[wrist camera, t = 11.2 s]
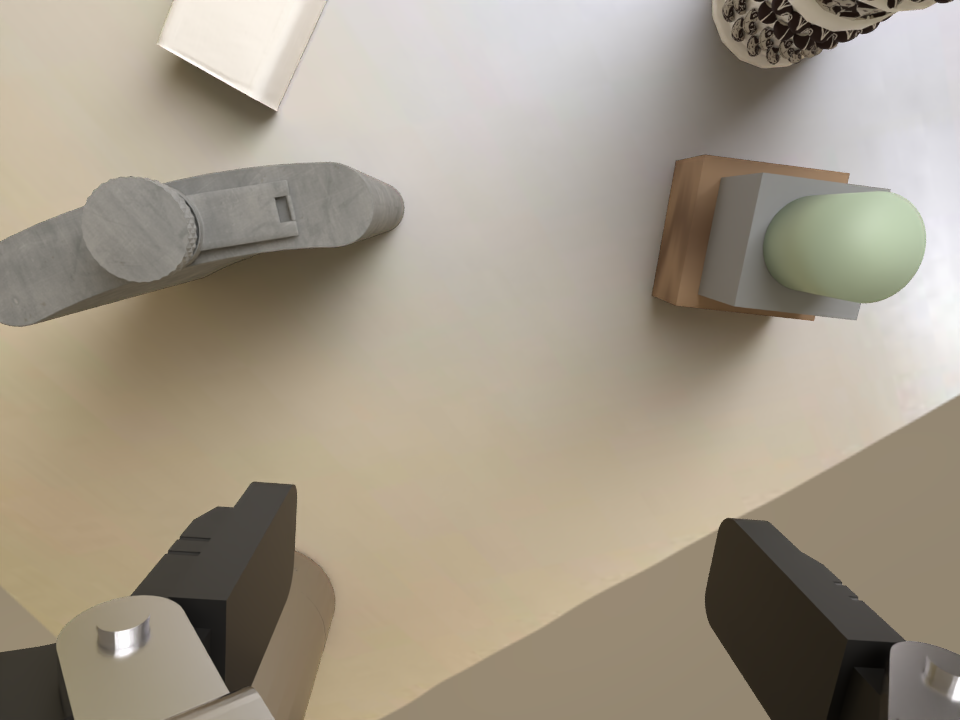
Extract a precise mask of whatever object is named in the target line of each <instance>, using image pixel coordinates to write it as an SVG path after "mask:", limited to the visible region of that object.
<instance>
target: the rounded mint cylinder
mask: <svg viewBox="0 0 960 720" xmlns="http://www.w3.org/2000/svg"><path fill="white" fill-rule="evenodd" d="M925 247H926V232H925V226H924V223H923V220H922V218H921V216H920V214H919V212H918V211H917V209H916V208H915V207H914V205H913V204H912V203H911V202H909V201H908V200H907V199H905V198H904V197H902V196H900V195H898V194H895V193H891V192H886V191H873V192H858V193H842V194H827V195H812V196H805V197H801V198H798V199H796V200H794V201H792V202H790V203H788V204H787V205H785V206H784V207H783V208H782V209H781V210H780V211H779V212H778V213H777V214H776V215H775V216H774V218H773V219H772V221H771V222H770V224H769V226H768V228H767V231H766V234H765V237H764V243H763V255H764V260H765V264H766V266H767V269H768V271H769V272H770V274H771V275H772V277H773V278H774V279H775V280H776V281H777V282H778V283H780V284H781V285H783V286H785V287H787V288H789V289H792V290H797V291H802V292H807V293H811V294H816V295H821V296H826V297H831V298H836V299H841V300H846V301H851V302H856V303H873V302H878V301H881V300H884V299H886V298H888V297H890V296H892V295H894V294H896V293H897V292H899V291H900V290H901V289H902V288H903V287H905V286H906V285H907V284H908V283H909V281H910V280H911V279H912V278H913V276H914V275H915V273H916V272H917V270H918V268H919V266H920V264H921V262H922V259H923V256H924V252H925Z"/></svg>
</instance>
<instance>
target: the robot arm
mask: <svg viewBox="0 0 960 720" xmlns="http://www.w3.org/2000/svg"><path fill="white" fill-rule="evenodd" d="M296 509H297V490H296V486H295V485H291V484H277V483H264V482H252V483H251V484H250V486H249V487H248V488H247V490H246V491H245V492H244V494H243V495H242V497H241V498H240V499H239V501H238V502H237V503H236V505H235V506H234V507H233V508H232V507H216V508H214V509H212V510H211V511H209V512H207V513H205V514H203V515H202V516H200V517H198V518H196V519H194V520H193V521H192V523H191V524H190V525H189V526H188V527H187V529H186V530H185V531H184V532H183V533H182V535H181V536H180V539H179V540H177V541H176V542H175V543H174V544H173V545H172V547H171V548H170V549H169V550H168V554H165V555H164V556H163V557H162V559H161V560H160V561H159V562H158V563H157V565H156V566H155V567H154V568H153V569H152V571H151V572H150V573H149V574H148V575H147V577H146V578H145V579H144V580H143V581H142V583H141V584H140V585H139V586H138V587H137V589H136V590H135V591H134V592H133V593H132V595H131V596H129V597H122V598H118V599H114V600H110V601H107V602H104V603H101V604H99V605H96V606H94V607H91V608H90V609H88V610H86V611H84V612H82V613H81V614H79V615H78V616H76V617H74V618H73V619H72V620H71V621H70V622H69V623H67V624H66V626H65V627H64V628H63V629H62V630H61V632H60V634H59V636H58V638H57V642H56V643H54V644H50V645H45V646H40V647H34V648H27V649H20V650H14V651H7V652H0V720H304V717H305V713H306V710H307V706H308V703H309V699H310V696H311V692H312V689H313V685H314V681H315V678H316V674H317V671H318V667H319V664H320V660H321V657H322V653H323V650H324V647H325V643H326V640H327V636H328V632H329V629H330V625H331V621H332V618H333V614H334V610H335V596H334V591H333V587H332V585H331V583H330V580H329V578H328V577H327V575H326V574H325V572H324V571H323V570H322V568H321V567H319V566H318V565H317V564H316V563H315V562H314V561H313V560H311V559H310V558H308V557H306V556H305V555H303V554H301V553H299V552H296V551H295V532H296ZM705 608H706V614H707V618H708V621H709V624H710V626H711V628H712V629H713V631H714V632H715V634H716V635H717V637H718V638H719V640H720V642H721V643H722V645H723V646H724V648H725V649H726V650H727V652H728V654H729V655H730V657H731V659H732V660H733V662H734V663H735V665H736V666H737V668H738V669H739V671H740V672H741V674H742V675H743V677H744V679H745V680H746V682H747V683H748V685H749V686H750V688H751V689H752V691H753V692H754V694H755V696H756V697H757V699H758V700H759V702H760V703H761V705H762V706H763V708H764V709H765V711H766V712H767V714H768V716H769V717H770V719H771V720H960V655H958V654H956V653H953V652H951V651H949V650H947V649H944V648H941V647H938V646H934V645H931V644H927V643H921V642H912V641H905V640H904V639H903V638H902V637H901V636H900V635H899V634H898V633H897V632H896V631H894V629H892V628H891V627H890V626H889V625H888V624H887V623H886V622H885V621H884V620H883V619H882V618H880V617H879V616H878V615H877V614H876V613H875V612H874V611H873V610H872V609H871V608H870V607H869V606H867V605H866V604H865V603H864V602H863V601H859V600H858V597H857V595H855V594H854V593H853V592H852V591H851V590H850V589H849V588H848V587H847V586H843V585H842V582H841V581H840V580H839V579H838V578H837V577H836V576H835V575H834V574H833V573H832V572H830V571H829V570H828V569H827V568H826V567H825V566H824V565H823V564H821V563H819V562H818V561H816V560H814V559H813V558H811V557H809V556H807V555H806V554H804V553H802V552H801V551H799V550H798V549H797V548H796V547H795V546H794V545H793V544H792V543H791V542H790V541H789V540H788V539H787V538H786V537H785V536H783V535H782V533H780V532H779V531H778V530H777V529H776V528H775V527H774V526H773V525H772V524H771V523H769V522H768V521H761V520H748V519H735V518H726V519H725V520H723V522H722V523H721V525H720V527H719V530H718V534H717V539H716V544H715V549H714V553H713V558H712V563H711V568H710V573H709V577H708V582H707V587H706V593H705Z"/></svg>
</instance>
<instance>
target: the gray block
mask: <svg viewBox="0 0 960 720" xmlns="http://www.w3.org/2000/svg"><path fill="white" fill-rule="evenodd" d="M890 190H891V189H884V188H876V187H869V186H861V185H854V184H846V183H839V182H831V181H823V180H816V179H808V178H801V177H793V176H786V175H778V174H771V173H755V174H747V175H738V176H730V177H722V178H721V181H720V186H719V191H718V196H717V201H716V206H715V211H714V216H713V221H712V226H711V231H710V236H709V241H708V246H707V251H706V256H705V261H704V266H703V271H702V276H701V281H700V286H699V291H698V295H701V296H704V297H707V298H710V299H713V300H716V301H719V302H722V303H725V304H728V305H731V306H735V307H744V308H752V309H761V310H770V311H779V312H787V313H796V314H805V315H814V316H822V317H831V318H840V319H849V320H857V316H858V312H859V309H860V305H861V303H856V302H851V301H846V300H841V299H836V298H831V297H826V296H821V295H816V294H811V293H807V292H802V291H797V290H792V289H789V288H787V287H785V286H783V285H781V284H780V283H778V282H777V281H776V280H775V279H774V278H773V277H772V275H771V274H770V272H769V271H768V269H767V266H766V264H765V260H764V255H763V243H764V237H765V234H766V231H767V228H768V226H769V224H770V222H771V221H772V219H773V218H774V216H775V215H776V214H777V213H778V212H779V211H780V210H781V209H782V208H783V207H784V206H785V205H787V204H788V203H790V202H792V201H794V200H796V199H798V198H801V197H805V196H812V195H827V194H842V193H858V192H873V191H886V192H890Z"/></svg>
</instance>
